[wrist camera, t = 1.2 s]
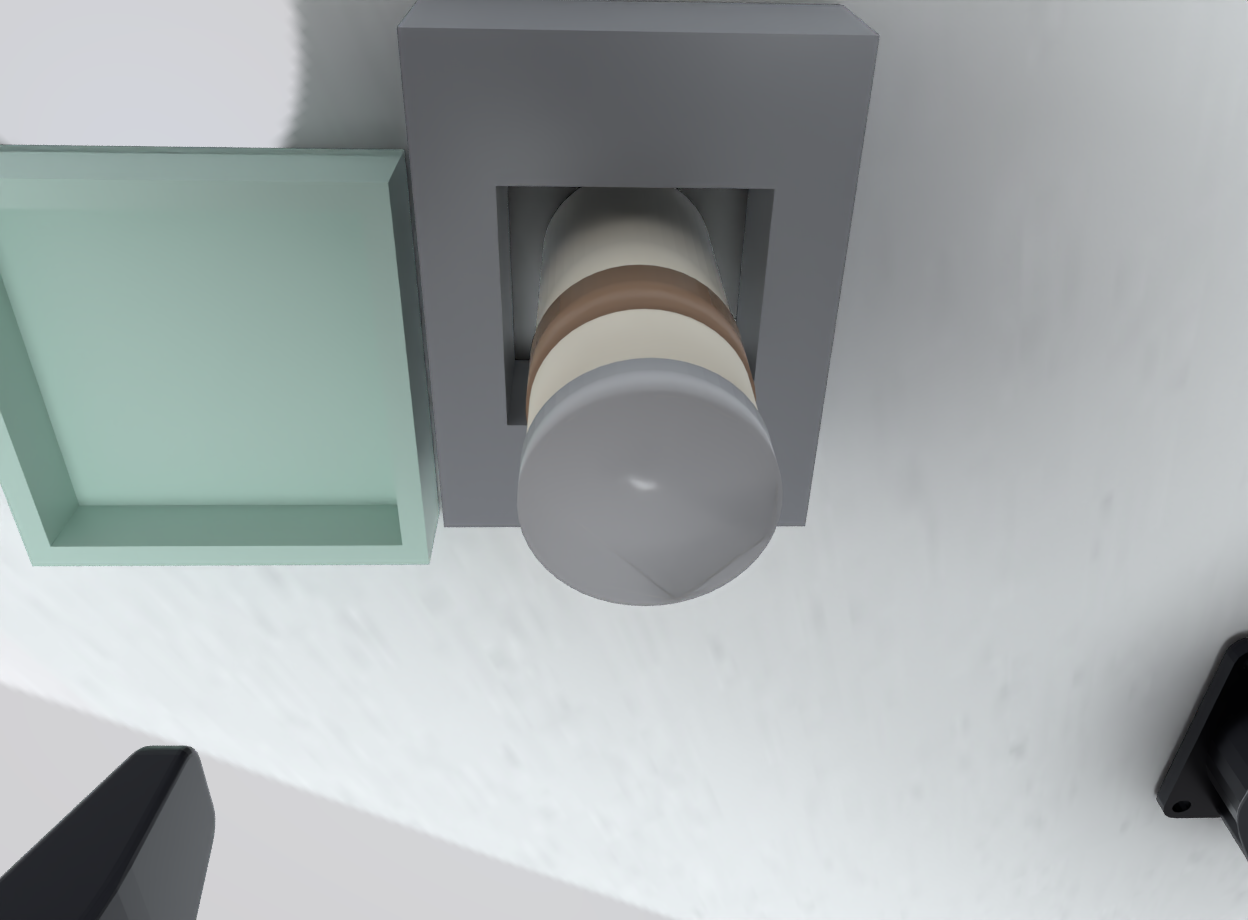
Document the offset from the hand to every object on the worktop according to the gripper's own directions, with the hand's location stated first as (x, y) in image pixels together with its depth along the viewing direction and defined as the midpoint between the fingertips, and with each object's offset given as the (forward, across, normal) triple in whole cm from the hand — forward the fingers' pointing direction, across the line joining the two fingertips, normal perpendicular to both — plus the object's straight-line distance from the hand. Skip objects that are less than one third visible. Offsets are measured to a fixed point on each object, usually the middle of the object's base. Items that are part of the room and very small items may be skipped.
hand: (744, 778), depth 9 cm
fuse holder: (+13, 0, +1) cm, 13 cm away
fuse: (+13, 0, 0) cm, 13 cm away
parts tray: (+13, +8, +3) cm, 15 cm away
